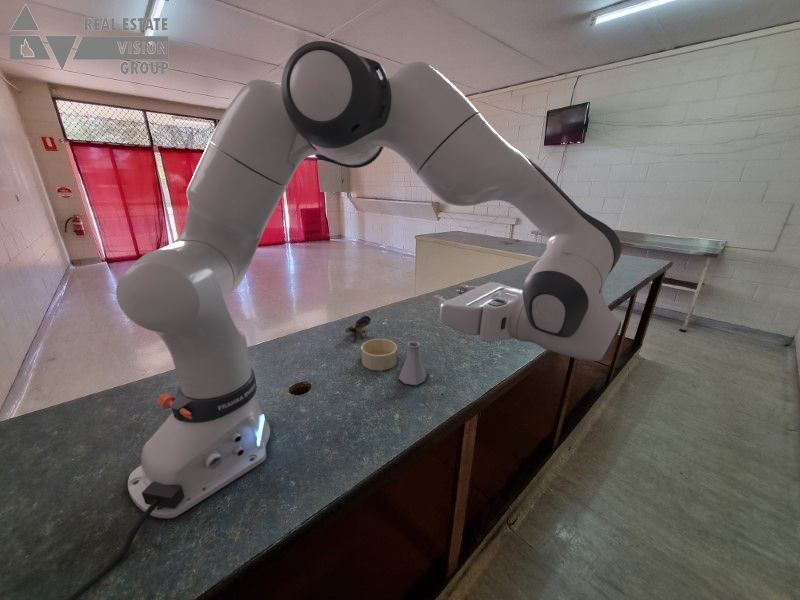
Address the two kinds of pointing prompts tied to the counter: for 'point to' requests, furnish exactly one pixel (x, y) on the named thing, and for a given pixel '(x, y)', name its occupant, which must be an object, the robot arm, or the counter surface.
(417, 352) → the flask
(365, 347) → the beige round bowl
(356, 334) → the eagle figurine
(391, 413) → the counter surface
